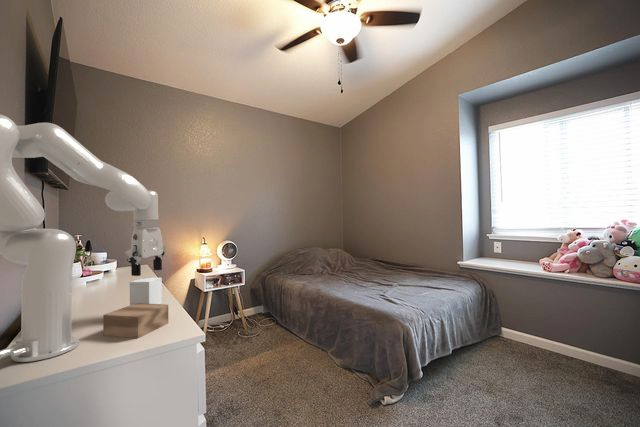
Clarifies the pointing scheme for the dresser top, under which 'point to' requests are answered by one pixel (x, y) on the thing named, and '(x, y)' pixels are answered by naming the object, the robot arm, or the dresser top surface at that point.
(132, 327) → the walnut block
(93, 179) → the robot arm
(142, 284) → the supplement box
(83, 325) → the dresser top surface
